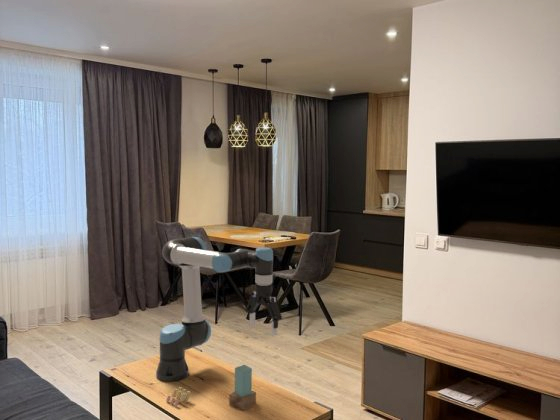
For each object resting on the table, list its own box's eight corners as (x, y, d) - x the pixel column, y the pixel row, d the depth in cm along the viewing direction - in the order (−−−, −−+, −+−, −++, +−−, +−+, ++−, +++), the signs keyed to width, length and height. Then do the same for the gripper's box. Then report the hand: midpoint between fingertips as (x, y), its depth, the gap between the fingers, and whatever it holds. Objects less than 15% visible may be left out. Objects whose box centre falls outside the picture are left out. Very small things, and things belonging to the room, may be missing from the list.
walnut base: (229, 406, 204) (229, 394, 204) (240, 398, 211) (240, 387, 211) (244, 411, 200) (244, 399, 200) (255, 403, 207) (255, 392, 207)
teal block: (234, 393, 206) (234, 367, 205) (244, 389, 209) (244, 364, 208) (241, 397, 202) (242, 371, 201) (251, 393, 205) (251, 368, 204)
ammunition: (181, 385, 212) (165, 391, 206) (191, 390, 207) (176, 397, 201) (180, 396, 213) (165, 402, 207) (191, 401, 208) (176, 408, 202)
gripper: (290, 287, 205) (289, 336, 207) (250, 277, 222) (249, 322, 224) (278, 290, 200) (277, 340, 202) (238, 279, 217) (237, 326, 219)
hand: (262, 331), depth 213 cm, fingers open, 13 cm apart
